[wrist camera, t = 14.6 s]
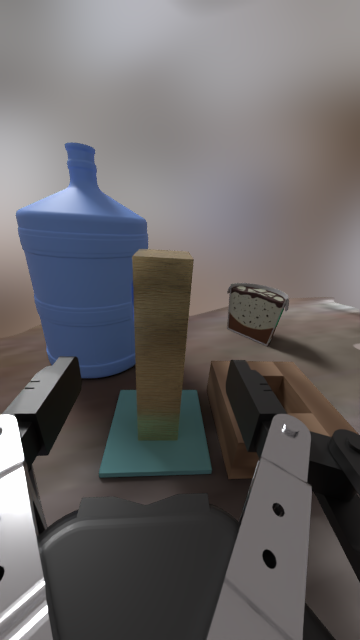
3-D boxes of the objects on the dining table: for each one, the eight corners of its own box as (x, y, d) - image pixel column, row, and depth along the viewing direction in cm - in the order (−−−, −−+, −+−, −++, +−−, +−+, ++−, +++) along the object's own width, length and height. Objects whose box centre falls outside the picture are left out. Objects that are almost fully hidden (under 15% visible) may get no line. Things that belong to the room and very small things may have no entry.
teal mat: (196, 393, 28) (196, 389, 28) (211, 473, 19) (211, 469, 19) (120, 393, 27) (120, 389, 27) (99, 477, 18) (98, 473, 18)
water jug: (62, 398, 26) (-8, 93, 14) (42, 343, 37) (-8, 143, 25) (165, 358, 35) (174, 151, 23) (124, 323, 46) (116, 169, 34)
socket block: (282, 390, 30) (292, 362, 28) (341, 475, 20) (364, 440, 18) (206, 390, 29) (211, 360, 27) (228, 479, 19) (238, 442, 17)
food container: (286, 339, 44) (301, 294, 40) (274, 349, 40) (289, 300, 36) (236, 319, 52) (243, 279, 48) (221, 326, 48) (228, 283, 44)
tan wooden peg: (176, 408, 25) (188, 251, 17) (177, 440, 21) (193, 259, 14) (142, 408, 25) (140, 248, 17) (138, 440, 21) (132, 255, 14)
